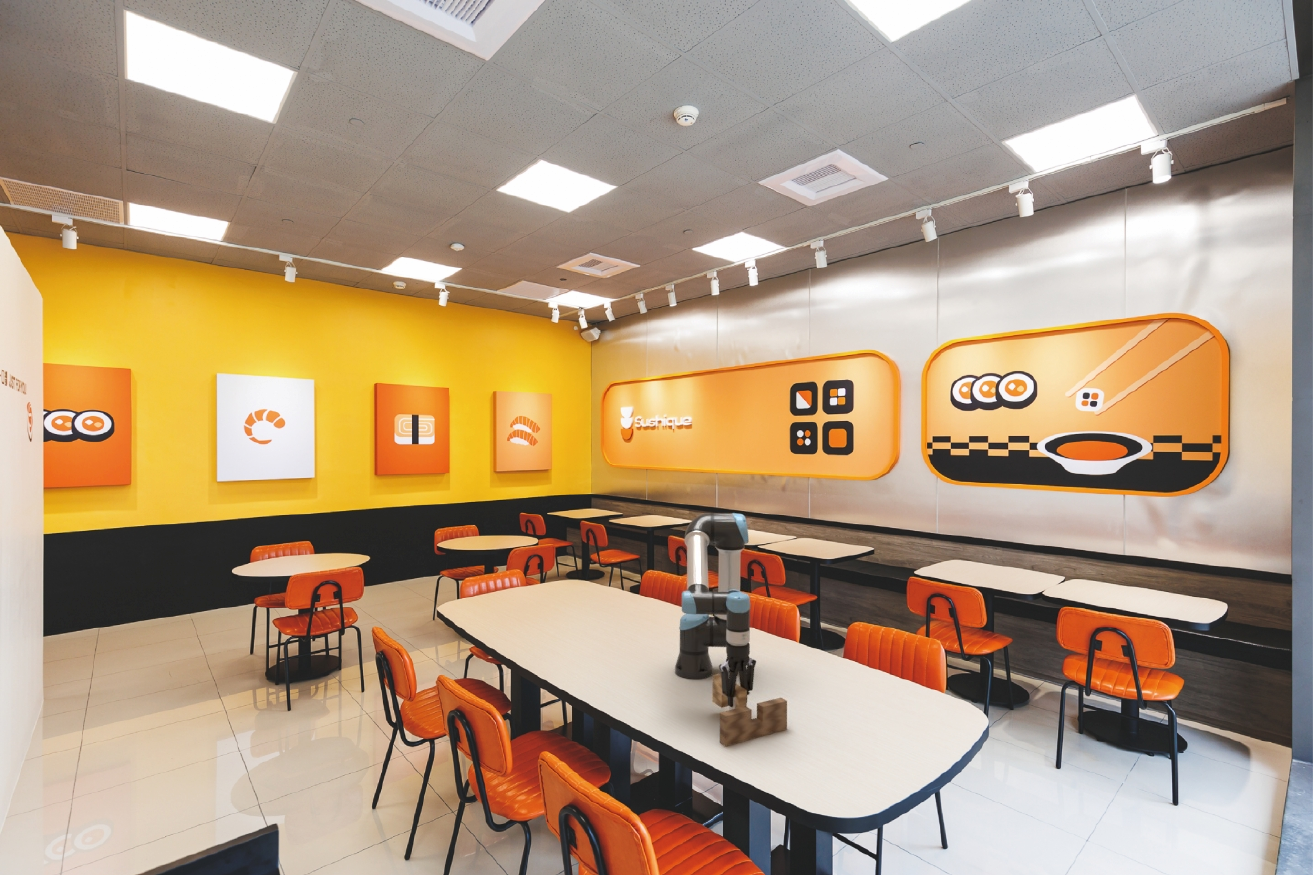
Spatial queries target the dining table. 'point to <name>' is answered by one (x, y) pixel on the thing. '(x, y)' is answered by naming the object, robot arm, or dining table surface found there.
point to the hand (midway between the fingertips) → (737, 714)
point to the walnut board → (753, 721)
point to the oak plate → (723, 699)
